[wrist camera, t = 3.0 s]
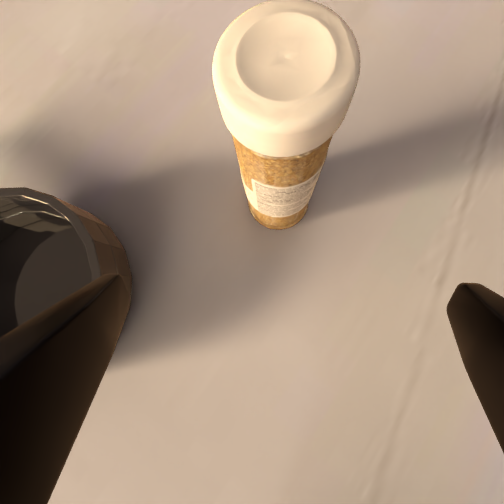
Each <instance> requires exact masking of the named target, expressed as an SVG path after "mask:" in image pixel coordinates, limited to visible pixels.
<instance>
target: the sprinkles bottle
mask: <svg viewBox="0 0 504 504" xmlns="http://www.w3.org/2000/svg"><path fill="white" fill-rule="evenodd" d="M359 73H360V53H359V48H358V44H357V41H356V39H355V37H354V34H353V32H352V31H351V29H350V28H349V26H348V25H347V24H346V22H345V21H344V20H343V19H342V18H341V17H340V16H339V15H338V14H336V13H335V12H334V11H332V10H331V9H329V8H327V7H326V6H324V5H322V4H319V3H317V2H313V1H310V0H270V1H266V2H263V3H260V4H258V5H256V6H254V7H252V8H250V9H248V10H247V11H245V12H244V13H242V14H241V15H240V16H238V17H237V18H236V19H235V20H234V21H233V22H232V23H231V24H230V25H229V26H228V28H227V29H226V30H225V32H224V33H223V35H222V36H221V38H220V40H219V42H218V44H217V47H216V50H215V53H214V58H213V65H212V75H213V83H214V87H215V91H216V96H217V99H218V103H219V107H220V110H221V113H222V117H223V120H224V122H225V124H226V126H227V128H228V129H229V131H230V132H231V134H232V136H233V140H234V144H235V149H236V152H237V157H238V162H239V165H240V172H241V177H242V181H243V185H244V189H245V192H246V195H247V198H248V205H249V209H250V212H251V214H252V215H253V217H254V218H255V219H256V220H257V221H258V222H259V223H260V224H262V225H263V226H265V227H267V228H270V229H286V228H289V227H292V226H294V225H295V224H296V223H298V222H299V221H300V220H301V219H302V218H303V216H304V215H305V213H306V211H307V208H308V202H309V200H310V198H311V195H312V193H313V190H314V188H315V185H316V183H317V180H318V178H319V175H320V172H321V170H322V167H323V164H324V162H325V159H326V156H327V152H328V147H329V144H330V141H331V139H332V136H333V134H334V133H335V132H336V131H337V129H338V128H339V126H340V125H341V123H342V121H343V120H344V118H345V115H346V113H347V110H348V108H349V105H350V103H351V100H352V97H353V94H354V91H355V88H356V85H357V82H358V78H359Z"/></svg>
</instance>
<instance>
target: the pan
mask: <svg viewBox="0 0 504 504" xmlns="http://www.w3.org/2000/svg"><path fill="white" fill-rule="evenodd" d="M104 274H120V275H121V276H122V277H123V279H124V282H125V284H126V287H127V290H128V292H129V295H130V302H129V306H128V309H127V312H126V315H125V318H124V322H125V320H126V317H127V314H128V311H129V309H130V304H131V287H132V275H131V271H130V267H129V263H128V260H127V256H126V252H125V249H124V248H123V246H122V245H121V243H120V242H119V240H118V239H117V237H116V236H115V234H114V232H113V231H112V229H111V228H110V227H109V226H107V225H106V224H105V223H103V222H102V221H101V220H99V219H98V218H97V217H95V216H94V215H93V214H91V213H89V212H87V211H85V210H83V209H80V208H78V207H76V206H74V205H72V204H69V203H67V202H65V201H63V200H61V199H58V198H56V197H54V196H51V195H48V194H45V193H42V192H39V191H35V190H32V189H29V188H0V337H2V336H4V335H5V334H7V333H9V332H10V331H12V330H13V329H15V328H17V327H18V326H20V325H22V324H23V323H25V322H27V321H28V320H30V319H31V318H33V317H35V316H36V315H38V314H40V313H41V312H43V311H45V310H46V309H48V308H49V307H51V306H53V305H54V304H56V303H58V302H59V301H61V300H63V299H64V298H66V297H68V296H69V295H71V294H72V293H74V292H76V291H77V290H79V289H81V288H82V287H84V286H86V285H87V284H89V283H90V282H92V281H94V280H95V279H97V278H99V277H100V276H102V275H104ZM124 322H123V325H124ZM123 325H122V328H123ZM122 328H121V331H122ZM121 331H120V333H121ZM119 335H120V334H119Z"/></svg>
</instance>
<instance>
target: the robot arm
mask: <svg viewBox="0 0 504 504" xmlns="http://www.w3.org/2000/svg"><path fill="white" fill-rule="evenodd" d="M129 302H130V295H129V292H128V290H127V287H126V284H125V282H124V279H123V277H122V276H121V275H120V274H104V275H102V276H100V277H99V278H97V279H95V280H94V281H92V282H90V283H89V284H87V285H86V286H84V287H82V288H81V289H79V290H77V291H76V292H74V293H72V294H71V295H69V296H68V297H66V298H64V299H63V300H61V301H59V302H58V303H56V304H54V305H53V306H51V307H49V308H48V309H46V310H45V311H43V312H41V313H40V314H38V315H36V316H35V317H33V318H31V319H30V320H28V321H27V322H25V323H23V324H22V325H20V326H18V327H17V328H15V329H13V330H12V331H10V332H9V333H7V334H5V335H4V336H2V337H0V504H47V503H48V501H49V499H50V496H51V494H52V492H53V490H54V487H55V485H56V483H57V480H58V478H59V476H60V474H61V471H62V469H63V467H64V465H65V462H66V460H67V458H68V455H69V453H70V451H71V449H72V446H73V444H74V442H75V439H76V437H77V435H78V433H79V430H80V428H81V426H82V423H83V421H84V419H85V417H86V414H87V412H88V410H89V407H90V405H91V403H92V401H93V398H94V396H95V394H96V392H97V389H98V387H99V385H100V382H101V380H102V378H103V376H104V373H105V371H106V369H107V366H108V364H109V362H110V360H111V357H112V355H113V352H114V350H115V347H116V344H117V341H118V338H119V334H120V331H121V328H122V325H123V322H124V318H125V315H126V312H127V309H128V306H129ZM447 315H448V318H449V321H450V324H451V327H452V330H453V333H454V336H455V339H456V342H457V345H458V348H459V351H460V354H461V358H462V360H463V363H464V366H465V369H466V371H467V373H468V376H469V378H470V380H471V382H472V385H473V387H474V389H475V391H476V393H477V396H478V398H479V400H480V402H481V404H482V407H483V409H484V411H485V413H486V415H487V418H488V420H489V422H490V424H491V426H492V429H493V431H494V433H495V435H496V437H497V440H498V442H499V444H500V446H501V448H502V451H503V453H504V298H503V297H502V296H500V295H498V294H497V293H495V292H493V291H491V290H490V289H488V288H486V287H485V286H483V285H481V284H478V283H461V284H459V285H458V286H457V288H456V289H455V291H454V293H453V295H452V297H451V299H450V301H449V303H448V305H447Z"/></svg>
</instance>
